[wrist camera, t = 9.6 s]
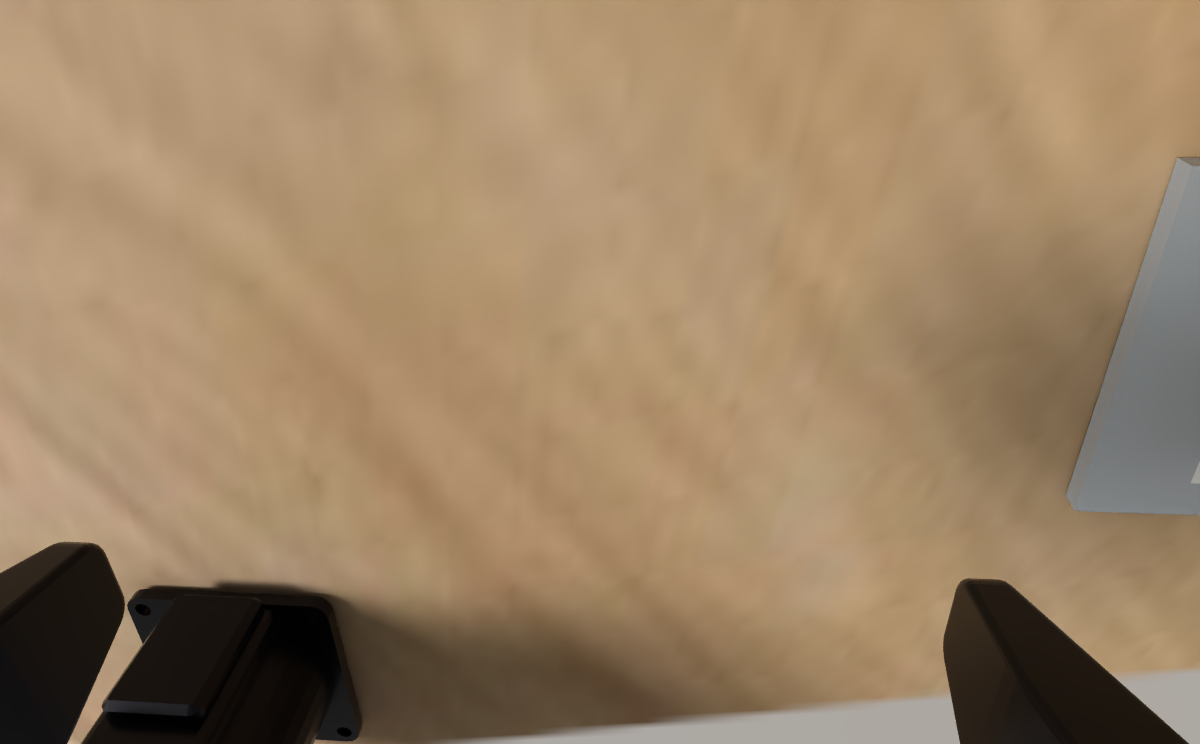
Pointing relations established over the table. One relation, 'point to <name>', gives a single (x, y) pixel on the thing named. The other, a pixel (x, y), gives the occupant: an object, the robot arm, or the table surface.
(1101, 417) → the grey flat plate
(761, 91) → the table surface
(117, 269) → the table surface
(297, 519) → the table surface
